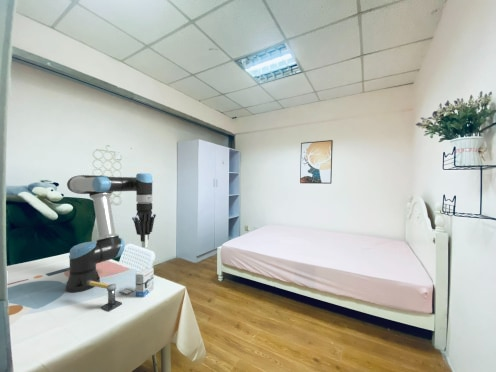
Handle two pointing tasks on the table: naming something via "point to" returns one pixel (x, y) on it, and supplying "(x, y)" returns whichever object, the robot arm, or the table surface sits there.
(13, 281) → the table surface
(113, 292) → the grey square fixture
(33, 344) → the table surface
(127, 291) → the label tile
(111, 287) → the swing arm
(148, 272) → the ink box
